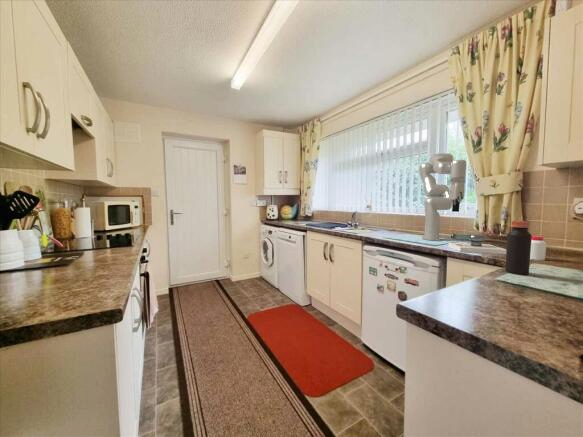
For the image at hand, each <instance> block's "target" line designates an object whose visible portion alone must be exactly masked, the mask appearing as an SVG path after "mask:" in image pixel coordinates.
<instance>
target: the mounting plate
mask: <svg viewBox="0 0 583 437" xmlns="http://www.w3.org/2000/svg"><path fill="white" fill-rule="evenodd" d="M448 248H451V249H453V250H455V251H458V252H460V253H473V254H474V253H475V254H491V255H492V254H493V255H506V249H507V248H503V247H500V246H496V245H492V244H488V243H487V244H486V243H484V244H483V243H482V246H472V245H471V242H467V243H464V242H463V243H462V242H448Z"/></svg>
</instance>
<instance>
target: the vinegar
mask: <svg viewBox="0 0 583 437" xmlns="http://www.w3.org/2000/svg"><path fill="white" fill-rule="evenodd" d="M510 228H511V231H509V232H508V233H507V237H506V248H505V249H506V254H505V265H504V271H505V272H506V273H508V274H512V275H519V276H528V275H529V274H530V262H531V259H530V253H531V240H532V236H533V235H532V234H531V233H530V232H529V231H528V230H529V228H530V221H524V220H523V221H522V220H511V227H510Z"/></svg>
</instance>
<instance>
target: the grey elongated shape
mask: <svg viewBox="0 0 583 437" xmlns="http://www.w3.org/2000/svg"><path fill="white" fill-rule="evenodd" d="M450 238H451V239H468V241H470V243H471V245H472V246H482V244H483V242H485V241H486V235H483V234H475V233H473V234H471V233H470V234H461V233H460V234H459V233H458V234H457V233H450Z"/></svg>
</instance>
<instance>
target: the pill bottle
mask: <svg viewBox="0 0 583 437" xmlns="http://www.w3.org/2000/svg"><path fill="white" fill-rule="evenodd" d="M546 251H547V242H546V241H545V240H544V236H541V235H540V236H539V235H538V236H537V235H532V240H531V253H530V260H532V259H534V261H545V260H546V253H547V252H546Z"/></svg>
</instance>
